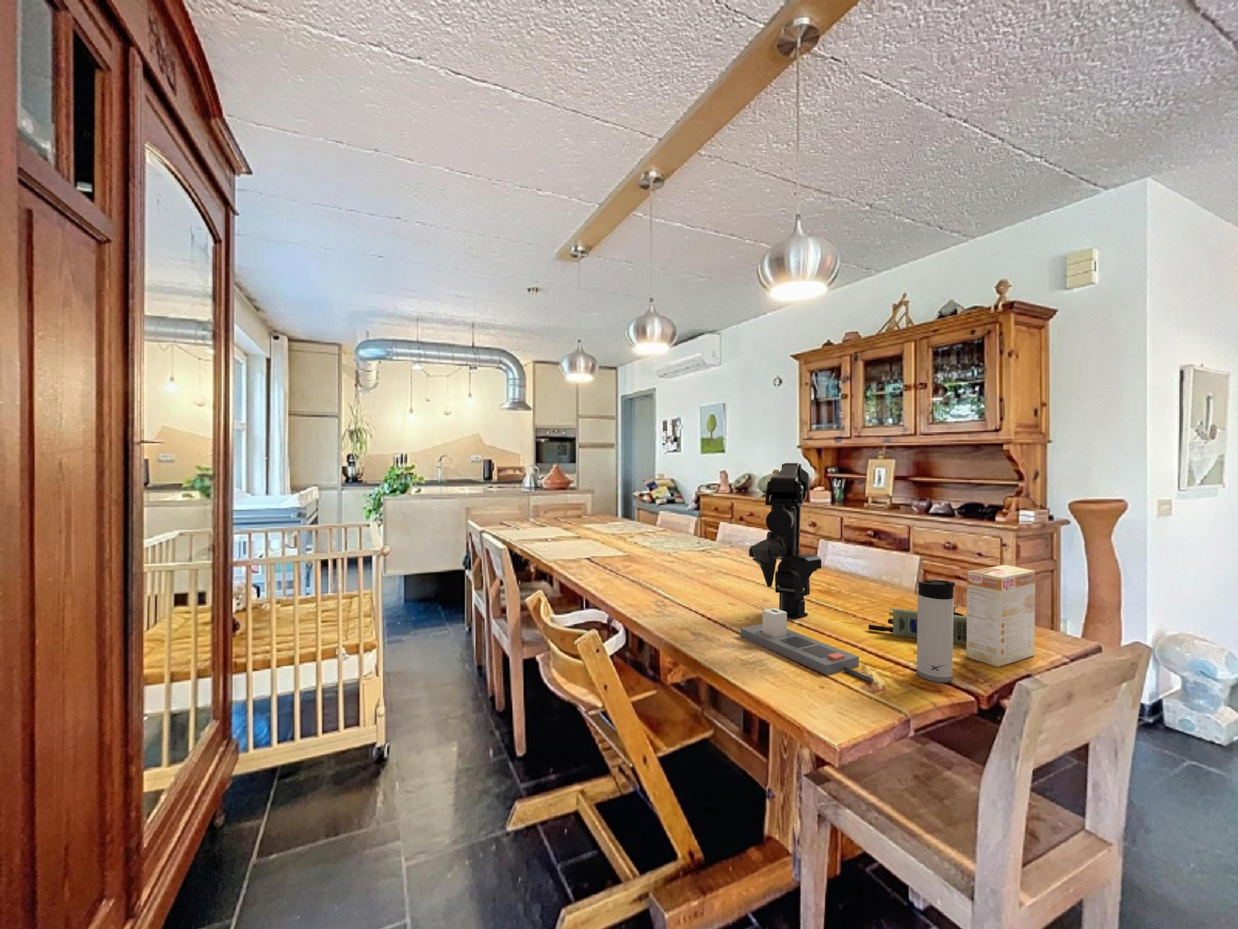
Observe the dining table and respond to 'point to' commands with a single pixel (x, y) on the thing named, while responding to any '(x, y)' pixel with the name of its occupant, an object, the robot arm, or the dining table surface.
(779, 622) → the block
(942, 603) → the travel mug
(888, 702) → the dining table surface
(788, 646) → the power strip
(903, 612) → the handheld radio
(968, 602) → the coffeecake box
